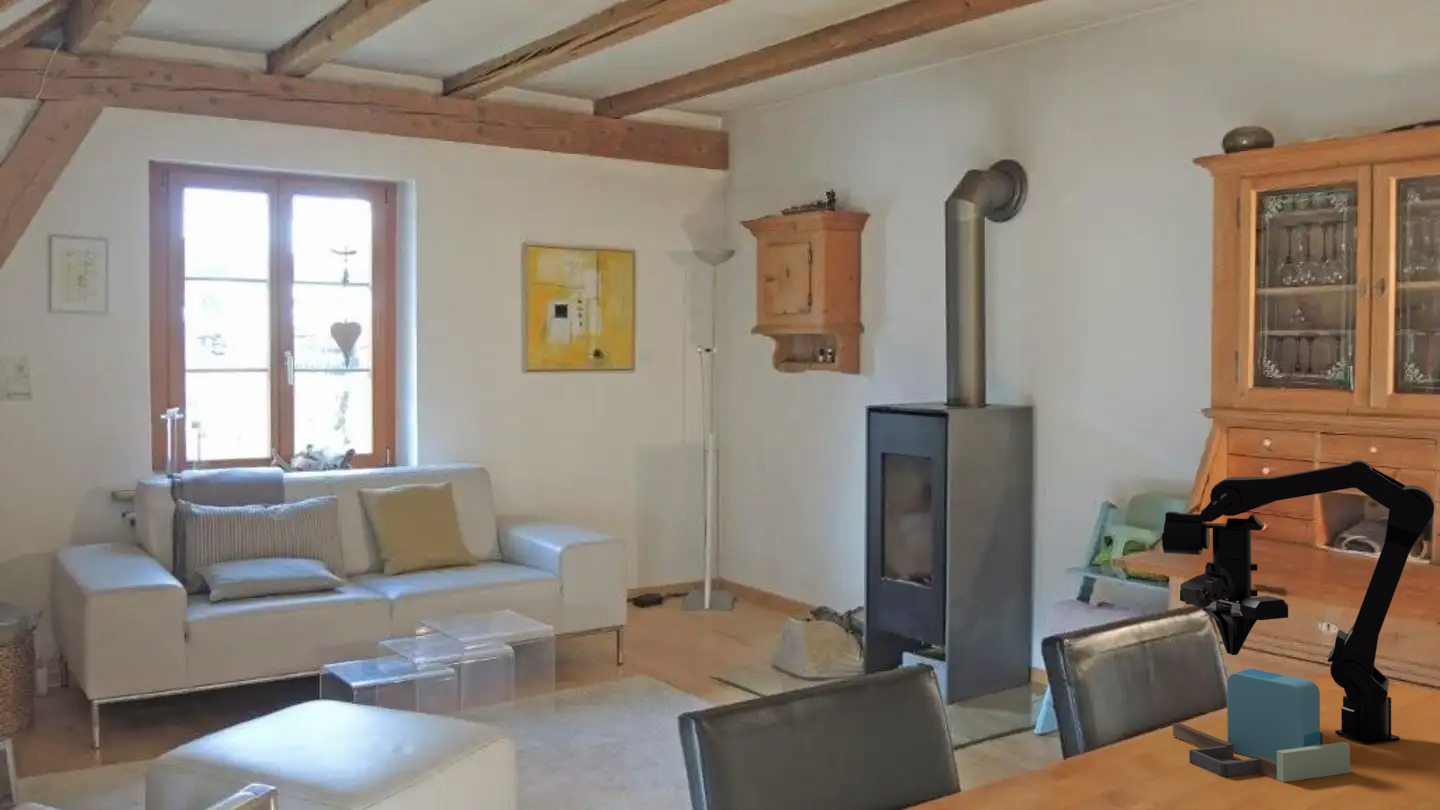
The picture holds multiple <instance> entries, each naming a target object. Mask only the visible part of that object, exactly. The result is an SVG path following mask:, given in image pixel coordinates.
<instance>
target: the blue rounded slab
mask: <svg viewBox="0 0 1440 810" xmlns="http://www.w3.org/2000/svg"><path fill="white" fill-rule="evenodd" d="M1320 694H1321V692H1320V689H1319V687H1318V685H1317V684H1316V683H1315V682H1314V681H1312V680H1310V679H1305V678H1300V677H1295V676H1289V675H1286V674H1281V673H1275V672H1271V671H1265V670H1262V669H1256V668H1247V669H1244V670H1239V671H1235V672H1232V673H1230V674H1229V675H1228V677H1227V680H1226V703H1227V704H1226V707H1227V708H1226V709H1227V713H1226V717H1227V718H1226V719H1227V720H1226V723H1227V724H1226V725H1227V729H1226V730H1227V735H1226V737H1227V741H1226V742H1229V743H1231V744H1234V754H1237V755H1240V754H1241V756H1245V757H1247V758H1251V759H1255V758H1256V757H1260V756H1264V757H1267V758H1269V759H1272V760H1274V761H1277V751H1279V750H1287V749H1294V748H1302V747H1309V746H1317V745H1320V732H1321V702H1320V701H1321V697H1320Z"/></svg>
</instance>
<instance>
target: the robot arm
mask: <svg viewBox="0 0 1440 810" xmlns="http://www.w3.org/2000/svg"><path fill="white" fill-rule="evenodd" d="M1347 489H1356V490H1358V491H1360V492H1362V493H1364V494H1365V495H1366V496H1368V497H1369V498H1370V499H1372V500H1373V501H1376V502H1377V503H1378V504H1379V505H1382V506H1383V507H1384V508H1386V509H1388V517H1387V523H1386V529H1385V531H1386V532H1385V537H1384V541H1383V545H1382V548H1381V551H1380V553H1379V556H1378V558H1377V561H1376V563H1375V567H1374V570H1373V573H1372V575H1371V577H1370V581H1369V583H1368V586H1367V589H1366V591H1365V594H1364V597H1363V600H1362V603H1361V604H1360V608H1359V611H1358V613H1357V616H1356V619H1355V621H1354V622H1353V625H1352V626H1351V627H1350V629H1349V631H1348V633H1346V632H1345V631H1342V630H1341V629H1339V630H1337V634H1336V636H1335V637H1336V638H1335V643H1334V646H1333V648H1332V649H1331V650H1330V651H1329V654H1328V657H1327V663H1331V665H1330V675H1331V678H1332V680H1333V681H1334V682H1335V684H1336V685H1337V686H1339V687H1340V688H1342V689H1343V690H1344V692H1345V695H1343V696H1342V706H1341V708H1340V709H1341V710H1340V711H1341V714H1340V715H1341V721H1340V722H1341V729H1336V730H1334V733H1335V734H1336V735H1338V736H1341V737H1344V738H1347V739H1350V740H1353V741H1356V742H1358V743H1361V744H1365V745H1375V744H1381V743H1389V742H1396V741H1401V739H1400V736H1399V735H1396V734H1392V697H1391V696H1388V695H1389V685H1390V680H1389V678H1388V677H1387V676H1385V675H1384V674H1383V673H1382V672H1381V671H1380V670H1379V668H1377V667H1376V666H1375V662H1376V656H1377V649H1378V643H1379V637H1380V632H1381V630H1382V627H1383V624H1384V622H1385V619H1386V617H1387V614H1388V611H1389V610H1390V609H1389V608H1390V606H1391V603H1392V601H1393V598H1394V595H1395V592H1396V590H1397V587H1398V584H1399V582H1400V579H1401V577H1402V574H1403V571H1404V569H1405V565H1406V563H1407V560H1408V558H1409V555H1410V552H1411V551H1412V549H1413V548H1414V546H1415V544H1416V543H1417V542H1418V540H1419V538H1420V537H1421V536H1422V534H1423V533H1424V531H1425V529H1426V527H1427V526H1428V524H1429V523H1430V521H1431V520H1432V518H1433V516H1434V513H1435V502H1434V498H1433V497H1432V495H1431V493H1430V492H1429V491H1428V490H1427V489H1425V488H1424V487H1422V486H1419V485H1415V484H1414V485H1412V484H1410V485H1405V484H1404V483H1403V482H1400V481H1398V480H1397V479H1395V478H1393V477H1391V476H1390V475H1387V474H1385V473H1384V472H1382V471H1380V470H1378V469H1376V468H1375V467H1373V466H1372V465H1370V464H1369V463H1368V462H1367V461H1364V460H1361V459H1360V460H1357V459H1356V460H1353V461H1351V462H1349V463H1344V464H1343V463H1342V464H1338V465H1334V466H1333V465H1332V466H1331V465H1330V466H1327V467H1321V468H1315V469H1310V470H1305V471H1299V472H1293V473H1289V474H1282V475H1275V476H1230V477H1227V478H1224V479H1222V480H1220V481H1219V482H1217V483H1216V484H1215V485H1214V486H1213V488H1212V489H1211V490H1210V494H1209V497H1210V499H1209V500H1210V502H1209V503H1208V504H1207V505H1206V506H1205V507H1204V508H1202V509H1201V510H1200V512H1201V513H1192V512H1189V513H1185V512H1178V511H1170V510H1169V511H1167V512H1166V513H1165V514H1164V524H1163V532H1162V534H1161V543H1162V545H1161V546H1162V551H1163V553H1164V554H1172V555H1173V554H1174V555H1175V554H1176V555H1193V556H1194V555H1195V556H1202V554H1203V550H1209V547H1210V543H1211V542H1210V541H1211V535H1210V534H1211V533H1210V532H1211V531H1210V529H1212V561H1207V562H1206V564H1205V570H1204V573H1201V574H1198V575H1196V576H1193V577H1192V578H1190V579H1188V580H1186V581H1184V582H1182V583H1180V584H1179V587H1180V589H1179V601H1180V602H1184V603H1185V604H1186V605H1188V606H1189V605H1192V606H1196V608H1200V609H1202V612H1204V613H1206V614H1207V615H1208V616H1210V617H1211V618H1212V619H1213V620H1214V621H1215V624H1216V626H1217V628H1218V631H1219V632H1218V633H1219V635H1220V637H1221V640H1222V643H1223V645H1224V648H1225V651H1226V652H1225V653H1226V654H1228V655H1231V656H1238V655H1239V653H1240V651H1241V649H1242V647H1243V645H1244V643H1245V642H1246V640H1247V638H1248V636H1249V635H1250V632H1251V631H1252V629H1253V627H1254V626H1255V624H1256V622H1257V621H1266V620H1267V621H1268V620H1277V619H1289V604H1288V602H1286V600H1285V599H1283V598H1279V597H1274V596H1269V595H1266V596H1265V595H1263V596H1258V589H1255V588H1252V572H1253V571H1256V572H1257V571H1258V564H1257V563H1253V562H1252V531H1262V530H1263V529H1264V528H1265V524H1264V523H1263V522H1262V521H1260V520H1259V519H1258V518H1257V516H1256V515H1255V513H1252V514H1250V515H1249V516H1248V517H1247V518H1239V517H1234V516H1238V515H1240V514H1244V513H1247V512H1249V511H1252V510H1255V509H1258V508H1260V507H1263V506H1265V505H1267V504H1271V503H1275V502H1277V501H1282V500H1284V501H1285V500H1289V499H1296V498H1302V497H1306V496H1313V495H1318V494H1324V493H1331V492H1335V491H1336V492H1337V491H1341V490H1347ZM1223 516H1226V517H1228V518H1227V519H1226V523H1225V522H1222V523H1220V522H1219V523H1218V522H1215V523H1214V521H1216V520H1217V519H1219V518H1221V517H1223Z"/></svg>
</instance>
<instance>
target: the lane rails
mask: <svg viewBox="0 0 1440 810" xmlns="http://www.w3.org/2000/svg"><path fill="white" fill-rule="evenodd" d="M1173 736H1175V737H1177V738H1179V739H1178V740H1180V739H1181V740H1180V741H1182V740H1184V741H1183V742H1185V741H1186V742H1185V743H1187V742H1188V743H1187V744H1190V743H1191V744H1190V745H1192V744H1193V745H1192V746H1194V745H1195V746H1194V747H1197V748H1199V747H1200V748H1208V747H1216V746H1226V747H1227V757H1228V758H1231V759H1234V757H1235V756H1234V754H1235V752H1234V744H1231V743H1229V742H1228V741H1225V740H1224V739H1221V738H1219V737H1216V736H1213V735H1211V734H1208V733H1206V732H1204V731H1201V730H1198V729H1196V728H1193V727H1191V726H1188V725H1185V724H1183V723H1180V722H1178V723H1177V722H1176V723H1172V737H1173ZM1175 737H1174V738H1175ZM1177 738H1176V739H1177ZM1200 748H1199V749H1200ZM1256 759H1259V772H1258V773H1259V774H1263V775H1265V776H1267V777H1270V778H1272V779H1275V780H1277V761H1274V760H1272V759H1269V758H1267V757H1264V756H1260V757H1256Z"/></svg>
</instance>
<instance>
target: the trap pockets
mask: <svg viewBox="0 0 1440 810" xmlns="http://www.w3.org/2000/svg"><path fill="white" fill-rule="evenodd" d="M1323 737H1324V735H1323V732H1321V731H1320V745H1324V744H1323V743H1324V738H1323ZM1188 751H1189V763H1190V764H1192V765H1195V766H1197V767H1200V768H1201V769H1204V770H1206V771H1208V772H1210V773H1214V774H1216V775H1218V776H1221V777H1223V778H1228V777H1235V776H1241V775H1242V776H1243V775H1251V774H1257V773H1260V772H1259V759H1256V758H1249V759H1241V760H1235V759H1234V758H1228V757H1227V747H1226V746H1216V747H1208V748H1195V749H1189V750H1188Z"/></svg>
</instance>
